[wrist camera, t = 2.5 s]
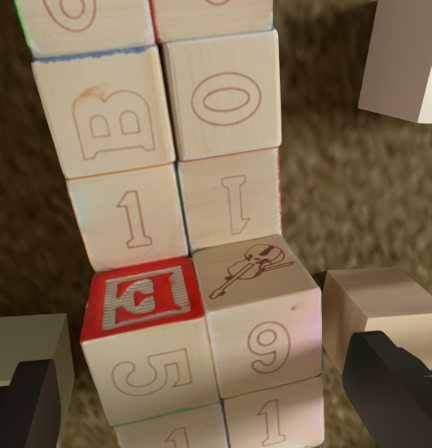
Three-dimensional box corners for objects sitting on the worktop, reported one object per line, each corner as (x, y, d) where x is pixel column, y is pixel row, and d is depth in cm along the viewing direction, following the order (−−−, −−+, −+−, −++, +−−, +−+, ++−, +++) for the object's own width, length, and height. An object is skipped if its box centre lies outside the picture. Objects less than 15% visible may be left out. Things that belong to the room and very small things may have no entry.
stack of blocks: (63, -26, 16) (-112, -205, 5) (210, -39, 17) (345, -220, 6) (152, 359, 25) (161, 602, 14) (245, 340, 26) (324, 556, 15)
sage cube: (-28, 318, 22) (-72, 387, 17) (66, 312, 22) (47, 376, 18) (-11, 384, 24) (-47, 462, 19) (74, 376, 24) (59, 449, 20)
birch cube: (326, 269, 24) (367, 318, 20) (396, 266, 25) (451, 312, 21) (314, 332, 26) (349, 389, 22) (380, 327, 27) (426, 380, 23)
